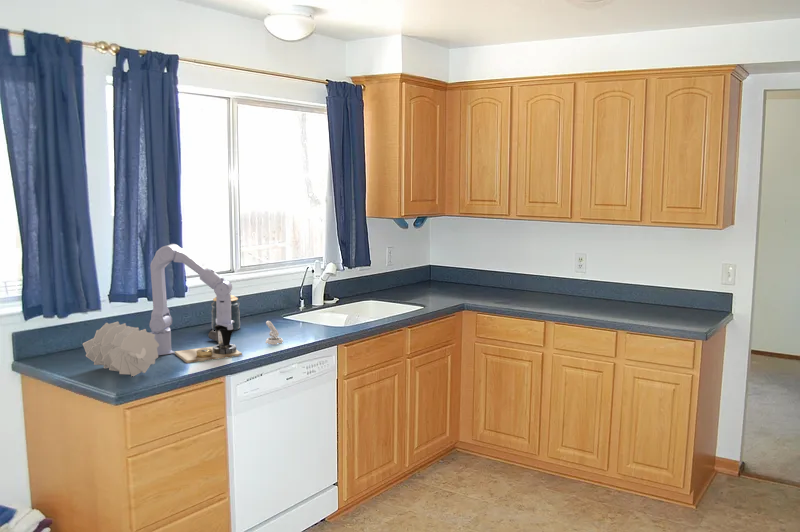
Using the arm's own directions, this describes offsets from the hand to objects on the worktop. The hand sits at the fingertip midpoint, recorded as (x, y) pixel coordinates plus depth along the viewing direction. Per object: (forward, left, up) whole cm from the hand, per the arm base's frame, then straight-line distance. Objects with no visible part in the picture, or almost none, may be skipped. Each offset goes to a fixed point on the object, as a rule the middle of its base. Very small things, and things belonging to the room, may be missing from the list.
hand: (224, 344), depth 279 cm
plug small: (-9, -3, -4) cm, 10 cm away
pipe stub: (0, 0, -2) cm, 2 cm away
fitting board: (-6, +2, -4) cm, 7 cm away
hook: (+25, +8, -4) cm, 27 cm away
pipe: (+5, +19, -4) cm, 20 cm away
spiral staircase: (-40, -5, -4) cm, 41 cm away
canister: (+16, +43, -4) cm, 46 cm away
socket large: (0, 0, -4) cm, 4 cm away
